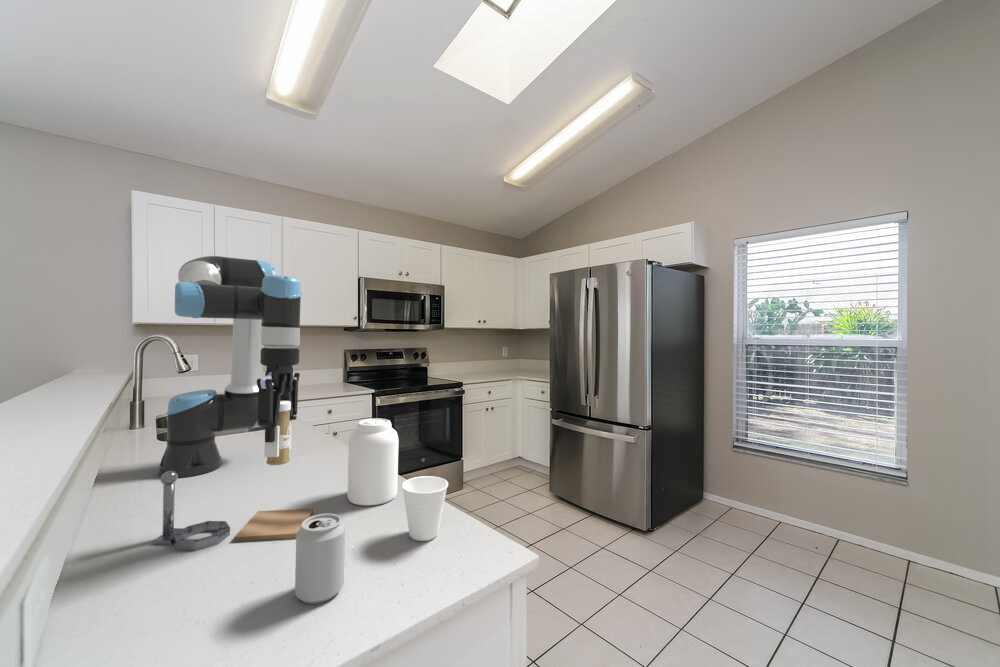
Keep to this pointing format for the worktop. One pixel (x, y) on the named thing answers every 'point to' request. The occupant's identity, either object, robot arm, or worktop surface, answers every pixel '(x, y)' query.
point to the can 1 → (320, 558)
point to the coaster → (273, 525)
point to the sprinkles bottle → (282, 435)
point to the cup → (424, 505)
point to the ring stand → (180, 534)
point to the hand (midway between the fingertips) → (278, 452)
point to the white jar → (373, 462)
